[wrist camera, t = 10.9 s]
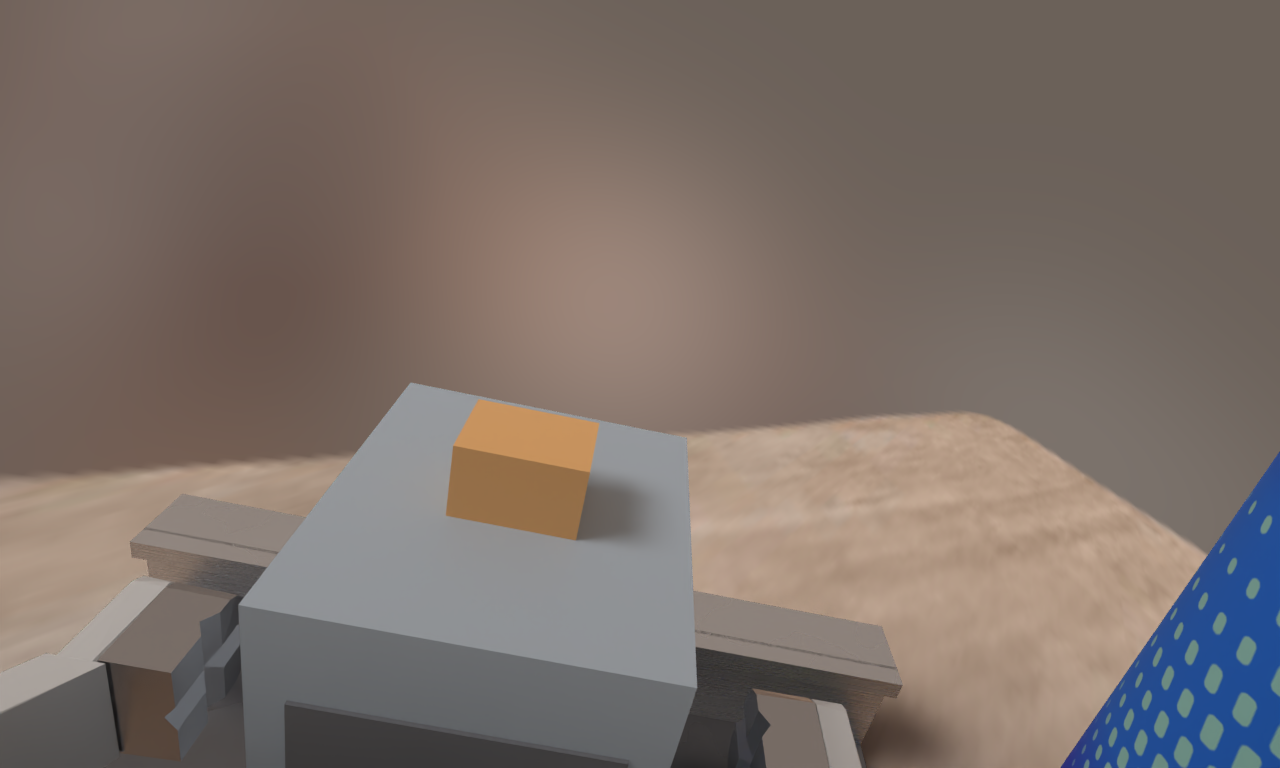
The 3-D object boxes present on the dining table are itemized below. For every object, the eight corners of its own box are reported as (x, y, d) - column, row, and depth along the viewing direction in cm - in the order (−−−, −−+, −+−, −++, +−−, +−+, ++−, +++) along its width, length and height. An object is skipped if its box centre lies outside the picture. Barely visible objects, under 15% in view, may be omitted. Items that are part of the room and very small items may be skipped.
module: (262, 1121, 11) (230, 524, 6) (379, 812, 16) (416, 323, 11) (538, 1161, 12) (722, 617, 7) (576, 846, 16) (701, 382, 11)
